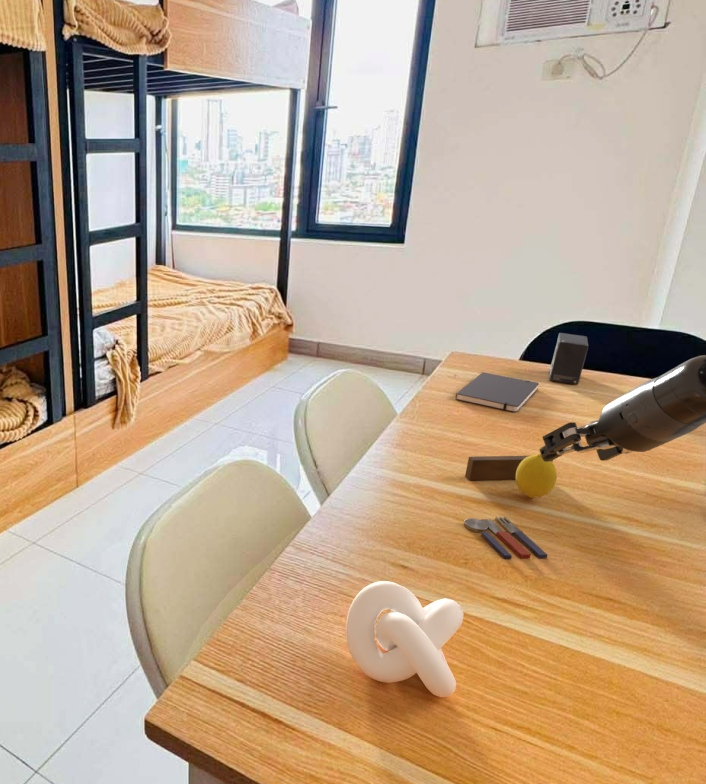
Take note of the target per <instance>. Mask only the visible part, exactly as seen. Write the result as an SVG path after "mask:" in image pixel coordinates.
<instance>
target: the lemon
mask: <svg viewBox="0 0 706 784" xmlns="http://www.w3.org/2000/svg"><path fill="white" fill-rule="evenodd" d="M527 456H528V457H526V458H525V459H523V460H522V462H521V463H520V464H519V466H518V468H517V471H516V480H515V483H516V486H517V488H518V489H519V490H520V492H522V493H523V494H525V495H526V497H528V498H529V499H534V498H536V497H537V498H538V497H539V498H540V497H543V496H546V495H548V494H549V493H550V492H551V491H552V490H553V489H554V487H555V485H556V481H557V468H556V465H555V464H554V462H553V461H550V462H545V461H543V459H542V457H541V453H538V454H532V455H527Z"/></svg>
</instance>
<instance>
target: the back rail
mask: <svg viewBox="0 0 706 784" xmlns="http://www.w3.org/2000/svg"><path fill="white" fill-rule="evenodd" d="M528 456H529V455H498V456H497V455H488V456H487V455H486V456H485V455H484V456H481V455H480V456H477V455H476V456H468V459H467V465H466V469H465V475H464V478H465V479H467V480H468V481H516V471H517V468H518V466H519V464H520V463H521V462H522V460H523V459H525V458H526V457H528ZM553 461H554V460H552V462H553Z"/></svg>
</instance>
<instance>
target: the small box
mask: <svg viewBox="0 0 706 784" xmlns="http://www.w3.org/2000/svg"><path fill="white" fill-rule="evenodd" d="M588 350H589V342H588V336H585V335H578V334H570V333H565V332H559V333H558V336H557V341H556V345H555V348H554V352H553V356H552V360H551V363H550V367H549V371H548V381H549V382H556V383H563V384H571V385H579V382H580V379H581V376H582V372H583V368H584V364H585V361H586V358H587V354H588Z"/></svg>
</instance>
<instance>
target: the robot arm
mask: <svg viewBox="0 0 706 784" xmlns="http://www.w3.org/2000/svg"><path fill="white" fill-rule="evenodd" d="M704 424H706V355H705V354H704V355H698V356H695V357H692V358H690V359H688V360H686V361H684V362H682V363H680V364H678V365H677V366H675V367H674V368H671V369H670V370H668V371H666V372H665V373H663V374H661V375H659V376H657V377H654V378H652V379H649V380H647V381H645V382H643V383H641V384H639V385H638V386H636V387H634V388H632V389H631V390H628V391H627V392H625V393H623V394H622V395H620V396H618V397H617V398H615V399H614V400H611V401H610V402H608V403H607V404H605V406H604V407H603V409H602V410H601V413H600V416H599V418H598V419H596V420H593V421H591V422H590V423H588V424H585V425H581V426H577V423H576V422H574V421H573V422H568V423H565V424H563V425H561V426H559V427H558V428H556V429H554V430H552V431H550V432H548V433H547V434H544V435H542V436H541V437H542V441H543V443H544V445H543V446H542V447H540V448H539V454H541V457H542V459H543V461H545V462H550V461H552V460H553V461H554V460H555V459H558V458H560V457H562V456H564V455H566V454H569V453H573V452H574V453H575V452H576V453H579V454H585V453H588V452H593V451H596V453H597V457H598V459H599V460H600V461H604V462H606V461H609V460H612V459H614V458H616V457H618V456H620V455H622V454H625V455H628V454H629V455H630V454H631V453H633V452H634V453H635V452H636V453H645V452H648V451H651V450H653V449H656V448H658V447H661V446H663V445H665V444H667V443H669V442H672V441H674V440H676V439H679V438H680V437H683V436H685V435H687V434H689V433H692V432H693V431H696V430H697V429H698V428H700V427H701V426H703V425H704ZM583 437H584V439H585V442H586V444H587V445H585V446H583V444H582V438H583ZM553 461H552V462H553Z"/></svg>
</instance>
